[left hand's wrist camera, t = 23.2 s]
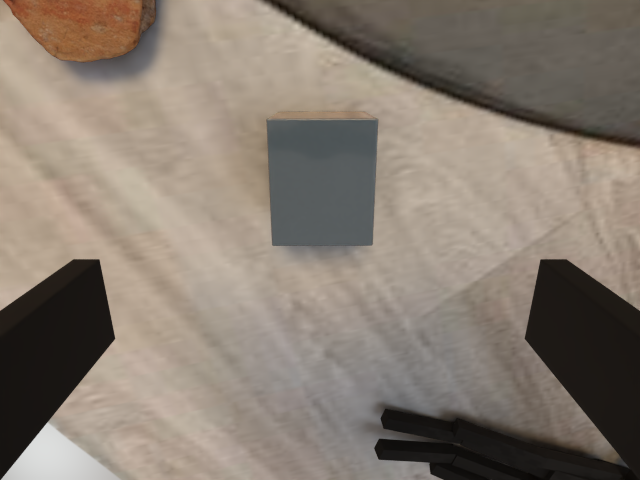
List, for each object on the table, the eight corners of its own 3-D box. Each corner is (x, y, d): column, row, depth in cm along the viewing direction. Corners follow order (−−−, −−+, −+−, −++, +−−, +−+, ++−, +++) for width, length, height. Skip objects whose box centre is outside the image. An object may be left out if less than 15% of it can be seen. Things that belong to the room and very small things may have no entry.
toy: (360, 442, 45) (605, 517, 48) (363, 481, 41) (634, 561, 43) (394, 374, 42) (655, 458, 44) (401, 408, 38) (691, 499, 40)
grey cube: (365, 111, 33) (378, 118, 25) (361, 214, 35) (372, 246, 28) (278, 111, 33) (266, 118, 25) (281, 214, 35) (272, 246, 28)
